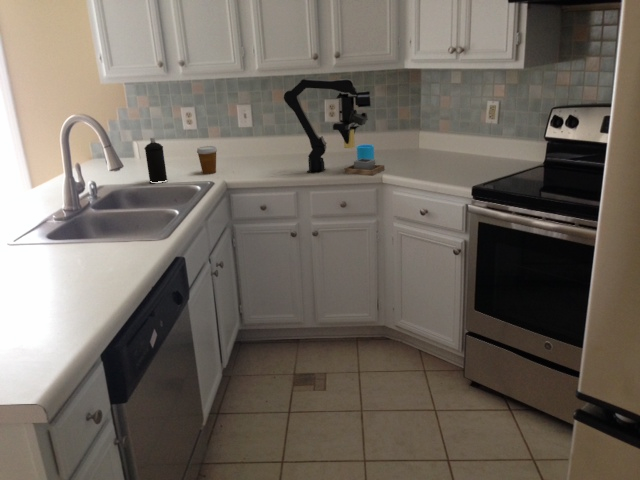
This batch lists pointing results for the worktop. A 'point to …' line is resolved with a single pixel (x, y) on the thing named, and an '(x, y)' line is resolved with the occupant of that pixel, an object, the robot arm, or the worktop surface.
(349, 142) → the mustard yellow cuboid
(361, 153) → the mug
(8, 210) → the worktop surface
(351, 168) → the walled box
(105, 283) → the worktop surface
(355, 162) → the socket
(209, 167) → the disposable coffee cup
